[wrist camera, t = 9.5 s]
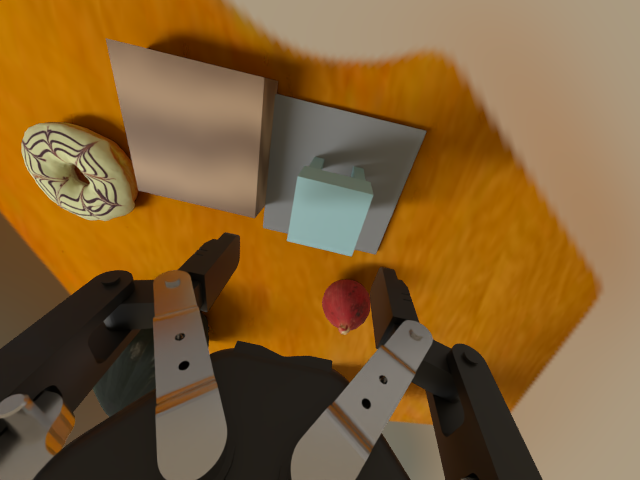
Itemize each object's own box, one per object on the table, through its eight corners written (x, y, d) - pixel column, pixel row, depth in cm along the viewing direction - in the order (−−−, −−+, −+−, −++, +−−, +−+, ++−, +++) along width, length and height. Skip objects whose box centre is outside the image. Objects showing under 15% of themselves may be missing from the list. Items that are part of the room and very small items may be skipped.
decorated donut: (159, 212, 30) (136, 226, 27) (82, 209, 31) (52, 222, 28) (123, 121, 24) (89, 124, 21) (32, 120, 25) (-14, 124, 22)
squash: (133, 280, 29) (13, 407, 23) (235, 339, 34) (154, 454, 28) (151, 273, 41) (76, 354, 36) (224, 317, 46) (166, 394, 41)
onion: (354, 259, 30) (356, 306, 23) (375, 289, 32) (382, 340, 25) (317, 277, 32) (308, 324, 25) (339, 303, 34) (337, 354, 28)
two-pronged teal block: (366, 166, 23) (373, 194, 17) (351, 215, 26) (351, 256, 19) (312, 153, 23) (297, 176, 16) (303, 203, 26) (286, 240, 19)
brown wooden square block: (266, 203, 27) (254, 218, 24) (164, 178, 27) (138, 190, 24) (278, 81, 21) (264, 77, 18) (145, 48, 21) (105, 38, 17)
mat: (375, 251, 29) (375, 254, 29) (264, 225, 29) (263, 227, 28) (424, 130, 22) (426, 131, 21) (277, 93, 22) (275, 93, 21)
